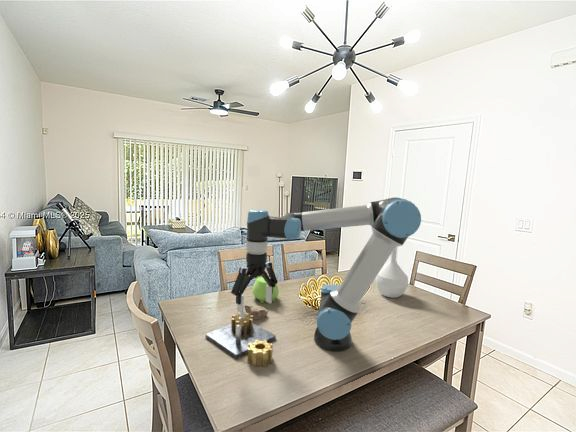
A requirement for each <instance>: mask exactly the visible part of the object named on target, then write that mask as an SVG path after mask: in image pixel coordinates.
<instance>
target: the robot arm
mask: <svg viewBox="0 0 576 432" xmlns="http://www.w3.org/2000/svg"><path fill="white" fill-rule="evenodd" d="M421 224H422V215H421V211H420V210H419V207H418V206H417V205H415V203H413V202H412V201H410V200H408V199H406V198H401V197H390V198H385V199H382V200H377V201H369V202H368V204H366V205H365V204H364V205H356V206H346V207H338V208H336V207H335V208H329V209H326V208H325V209H318V210H309V211H302V212H300V211H299V212H293V211H292V212H288V213H285V215H283V216H271V215H270V214H269V211H268V210H266V209H251V210H249V211H248V212H247V222H246V251H247V252H246V257H245V258H246V259H245V260H246V261H245V262H246V266H245V267H243V266H239V268H238V274H237V276H236V279H235V282H234V284H233V286H232V288H231V291H230V293H231V294H232V295H233V296H235V303H236V304H237V305H236V306H237V308H236V311H237V312H238V313H243V312H244V309H245V307H244V306H245V305H244V304H245V303H244V302H245V300H244V299H245V295H243V294H244V292H245V290H247V287H248V286H249V284H251V283H250V282H251V281H252V280H253V279H255V278H256V279H257V277H258V276H259V277H263V278H264V280H265V281H266V282H267V284H268V285H266V301H265V303H267V304H272V302H273V301H272V294H273V287H275V286H276V285H275V284H277V285H278V279H277V276H276V274H275V271H274V268H273V263H272V262H271V261H268V260H267V259H268V253H267V251H268V238H276V239H288V240H298V239H299V238H300V237H301V233H302V232H307V231H319V230H326V229H327V230H328V229H340V228H350V227H361V226H370V227H371V230H372V231H371V232H372V234H371V235H370V237H369V239H368V241H367V242H366V243H365V245H364V246H363V249H362V250H361V251H360V253H359V255H358V256H357V258H356V259H355V261H354V262H353V264H352V265H351V267H350V269H349V271H347V274H346V275H345V276H344V278H343V279H342V282H341V283H340V284H339V285H338V284H325V285H323V286H322V287H321V291H320V303H319V307H318V312H317V315H316V328H315V331H314V335H313V337H314V338H313V341H314V343H315V345H317V346H318V347H320V348H322V349H324V350H327V351H329V352H330V351H332V352H342V351H346V350H348V349H349V348H351V346H352V341H353V340H352V334H351V329H352V323H353V321H354V319H355V318H356V316H357V315H358V313H359V312H360V306H359V303H360V302H361V301H362V299H363V298H364V296H365V294H366V293H367V291H368V290H369V288H370V287H371V286H372V284H373V282H374V281H375V278H376V276H377V275H378V273H379V272H380V270H381V269H382V268H383V267H384V266H385V265H386V262H387V261H388V260H389V258H390V257H391V253H392V252H393V250H394V249H395V247H397V248H398V247H401V246H404V244H405V242H406V241H407V240H408V238H409V237H410V236H412V235H414V234H415V233H416V232H417V231H418V230H419V229H420V226H421ZM266 271H267V272H266ZM269 277H270V278H269Z"/></svg>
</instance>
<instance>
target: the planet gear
mask: <svg viewBox="0 0 576 432" xmlns="http://www.w3.org/2000/svg"><path fill="white" fill-rule="evenodd" d="M273 347H274V345H273V343H272V342H269V343H267V340H264V341H258V340H255V342H254V343H249V344H248V351H247V354H246V356H247V357H246V359H247V360H246V362H247V364H248V363H249V364H252V367H255V368H256V367H258V366H259V367H261V366H262V368H264V367H265V368H266V366H267V364H272V362H273V352H274V351H273V349H274V348H273Z"/></svg>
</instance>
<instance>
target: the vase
mask: <svg viewBox="0 0 576 432" xmlns="http://www.w3.org/2000/svg"><path fill="white" fill-rule="evenodd" d="M397 251H398V247H395V249H394V250H393V252H392V253H391V255H390V260H389V262H387V263H385V264H384V266H383V267H382V269H381V270H380V272H379V273H378V275H377V276H376V278H375V279H374V281H375V285H376V288H377V290H378V292H379V293H380V294H381V295H382V296H384V297H387V298H390V299H392V298H393V299H396V298H399V297H401V296H402V295H403V294H404V293H405V292H406V290H407V288H408V286H409V276H408V275H407V274H406V273H405V271H404V270H403V269H402V268H401V266H400V265H399V264H398V262H397V254H398V253H397Z"/></svg>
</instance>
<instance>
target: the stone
mask: <svg viewBox="0 0 576 432" xmlns="http://www.w3.org/2000/svg"><path fill="white" fill-rule="evenodd" d="M244 310H245V311H244V312H245V313H249V315H253V321H254V320H256V321H258V320H260V319H263V318H265V317H266V316H267V315H268V313H269V311H268V310H267V309H266V308H265V307H264V306H262V305H250V304H245V305H244Z"/></svg>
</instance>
